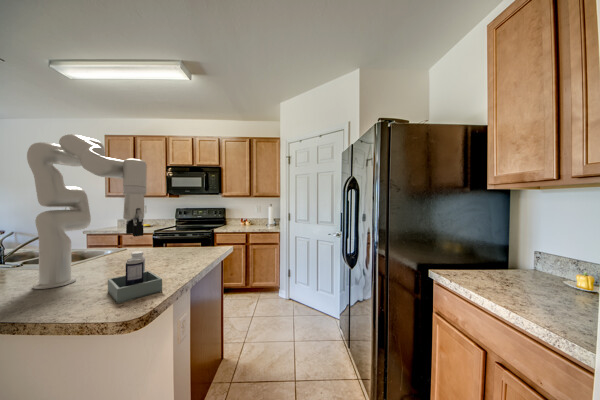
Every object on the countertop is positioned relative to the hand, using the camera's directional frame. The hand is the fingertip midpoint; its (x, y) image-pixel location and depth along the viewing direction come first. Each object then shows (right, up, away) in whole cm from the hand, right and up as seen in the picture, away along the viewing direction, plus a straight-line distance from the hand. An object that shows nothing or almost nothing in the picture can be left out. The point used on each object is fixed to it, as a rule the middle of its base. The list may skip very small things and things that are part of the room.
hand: (134, 234), depth 90 cm
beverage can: (0, -22, 0) cm, 22 cm away
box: (0, -22, 0) cm, 22 cm away
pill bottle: (-12, -23, +19) cm, 32 cm away
